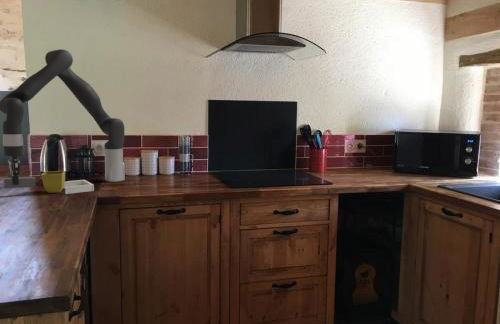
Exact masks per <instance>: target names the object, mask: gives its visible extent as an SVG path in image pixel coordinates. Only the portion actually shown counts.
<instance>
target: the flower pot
mask: <svg viewBox="0 0 500 324" xmlns="http://www.w3.org/2000/svg"><path fill="white" fill-rule="evenodd" d="M41 181H42V184H43V185H42V186H43V187H44V190H45V191H46V192H47V193H48V194H52V193H55V194H56V193H60V192H62V190H63V189H64V188H63V186H64V183H65V181H66V171H65V170H62V171H61V170H59V171H58V170H57V171H44V172H43V173H41Z"/></svg>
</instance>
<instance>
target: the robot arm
mask: <svg viewBox="0 0 500 324" xmlns="http://www.w3.org/2000/svg"><path fill="white" fill-rule="evenodd" d="M44 59H45V63H46V65H45V66H44V67H42V68H41V69H39V70H38V71H36V72H35V73H33V74H32V75H30V76H29V77H28V78H26V79H25V80H24V81H23V82H22V83H21V84H20V85H18V87H17V88H16V89H14V90H13V91H11V92H9V93H8V94H6V95H5V96H3V98H2V99H1V100H0V112H1V113H3V114H5V115H6V118H5V119H6V120H4V121H3V122H2V133H3V135H2V145H3V146H2V148H3V149H2V150H3V151H2V152H3V156H5V157H9V159H7V163H8V169H9V174H10V178H13V185H18V184H19V178H20V177H19V176H20V175H21V160H20V159H19V157H21V156H24V154H25V153H24V136H23V131H22V124H23V119H24V113H25V106H24V103H26V102H29V101H31V100H33V98H35V96H36V95H37V94H39V92H41V90H42V89H43V88H45V87H46V86H47V84H49V83H50V82H51V81H53V80H54V79H55V78H56V77H58V78H59V79H60V80H61V81H62V82H63V84H65V86H66V87H67V88H68V89H69V91H70V92H71V93H72V94H73V96H74V97H75V98H76V100H77V101H78V102H79V103H80V104H81V106H83V107H84V109H85V110H86V111H87V112H88V114H89V115H90V116H91V117H92V118H93V120H94V121H95V122H96V125H98V127H99V129H100V130H101V132H102V133H103V134H105V135H107V136H108V140H107V141H106V142H105V143H104V174H105V175H104V179H105V180H104V181H106V182H114V183H115V182H121V181H125V180H126V179H125V178H126V176H125V172H126V171H125V168H126V167H125V162H124V147H123V146H124V144H125V124H124V122H123V120H122V119H120V118H117V117H115V118H114V117H111V116H110V115H109V114H108V113H107V112H106V110H104V108H103V105H102V103H101V102H102V101H101V98H100V96H99V95H98V93H97V92H96V91H95V89H94V88H93V86H91V84H89V82H87V81H86V80H84V79H83V78H81V77H80V76H79V75H78V74H76V73H75V72H74V71H73V70H72V69H71V67H72V65H73V62H74V59H73V55H72V54H71V52H69V51H68V50H66V49H54V50H50V51H48V52H46V54H45V58H44Z"/></svg>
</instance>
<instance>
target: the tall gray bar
mask: <svg viewBox="0 0 500 324" xmlns="http://www.w3.org/2000/svg"><path fill="white" fill-rule="evenodd" d="M2 181H3V182H2V185H3V186H2V187H3V189H4V190H5V189H17V188H19V189H20V188H35V187H36V182H37V181H36V177H35V176H26V177H23V176H22V177H19V184H18V185H13V178H11V177H3V179H2Z"/></svg>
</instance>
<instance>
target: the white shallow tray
mask: <svg viewBox="0 0 500 324" xmlns="http://www.w3.org/2000/svg"><path fill="white" fill-rule="evenodd" d="M94 185H95V184H93V183H91V182H89V181H88V180H86V179H79V180H78V179H77V180H67V181H66V180H65V183H64V186H63V188H62V189H64V194H66V195H69V194H76V193H77V194H79V193H87V192H88V193H89V192H94V191H95V186H94Z"/></svg>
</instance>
